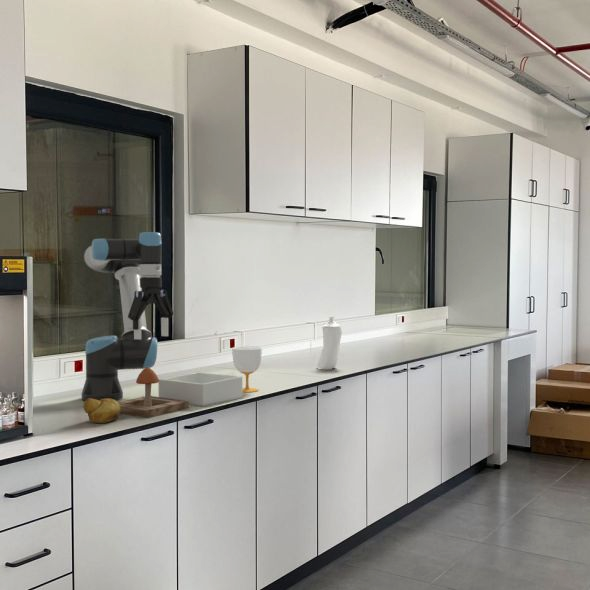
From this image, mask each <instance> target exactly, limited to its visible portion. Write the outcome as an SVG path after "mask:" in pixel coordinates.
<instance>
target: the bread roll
mask: <svg viewBox="0 0 590 590" xmlns="http://www.w3.org/2000/svg"><path fill="white" fill-rule="evenodd" d="M117 402H118V401H117V400H114V399H110V398H106V399H101V400H96V399H92V398H88V399H86V400H85V401H84V402H83V410H84V413H86V414H87V416H88V420H89V421H90V423H94V424H99V423H100V424H101V423H102V424H103V423H106V424H107V423H109V422H112V421H115V420H117V419H119V417H120V415H121V414H120V405H119V404H118V403H117Z"/></svg>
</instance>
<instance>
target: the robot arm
mask: <svg viewBox="0 0 590 590" xmlns="http://www.w3.org/2000/svg"><path fill="white" fill-rule="evenodd" d="M138 237H139V238H103V237H102V238H94V239H92V242H91V245H90V246H88V247H87V248H86V249H85V251H84V253H83V261H84V263H85V265H86V266H87V267H88V268H89V269H91V270H93V271H96V272H99V273H107V274H108V273H113V274H114V278H115V279H116V280H118V282H119V291H120V302H121V310H122V312H121V313H122V319H123V328H124V329H123V330H124V331H123V333H122V334H121V337H120V338H118V336H117V335H113V334H112V335H103V336H98V337H94V338H91V339H88V340H87V341H86V342H85V352H84V354H85V381H84V385H83V388H82V392H81V400H82V401H84V402H85V400H86V399H88V398H92V399H96V400H101V399H106V398H110V399H114V400H115V401H119V400H120V399H123V398H124V392H123V388H122V386H121V382H120V380H119V373H118V372H119V371H122V370H123V371H124V370H141V369H142V370H143V369H145V368H146V367H148V368H150V369H152V368H153V367H154V365H156V362H157V355H158V338H157V337H153V334H152V331H150V330H149V329H148V328H147V318H146V312H145V311H146V307H147V306H149V305H150V304H154V305H155V306H156V308H157V309H158V311H159V312H160V315H161V316H162V317H161V318H160V326H161V327H160V331H161V333H160V334H161V335H160V336H161V337H169V326H170V318H172V316H173V315H174V312H173V308H172V306H171V303H170V300H169V297H168V291H167V290H166V289H161V288H162V287H163V283H162V280H163V279H162V277H161V276H162V244H163V242H162V235H161V233H160V232H157V231H148V232H147V231H146V232H145V231H144V232H140V233H139V236H138Z"/></svg>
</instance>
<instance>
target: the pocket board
mask: <svg viewBox="0 0 590 590" xmlns="http://www.w3.org/2000/svg"><path fill="white" fill-rule="evenodd" d="M144 398H145V396H141V397H135V398H131V399H130V398H129V399H125V400H120V401H116V402H117V403H118V404H119V405H120V414H119V415H126V416H132V417H139V418H146V419H147V418H148V419H149V418H153V417H156V416H157V417H158V416H161V415H165V414H166V415H167V414H171V413H174V412H175V413H176V412H179V411H183V410H188V409H190V405H189V401H184V400H176V399H169V398H162V397H159V396H155V395H154V396H152V395H151V401H152V406H151V407H143V404H144Z"/></svg>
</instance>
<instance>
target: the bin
mask: <svg viewBox="0 0 590 590" xmlns="http://www.w3.org/2000/svg"><path fill="white" fill-rule="evenodd" d="M158 379H159V382H158V383H157V384H158V397H162V398H169V399H176V400H184V401H189V406H192V407H193V406H195V407H200V408H204V407H210V406H213V404H214V405H217V403H218V404H222V403H226V401H227V402H230V401H234V400H239V399H243V392H242V388H243V376H237V375H229V374H222V373H221V374H219V373H209V372H199V371H198V372H193V373H187V374H181V375H175V376H170V377H164V378H158Z"/></svg>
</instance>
